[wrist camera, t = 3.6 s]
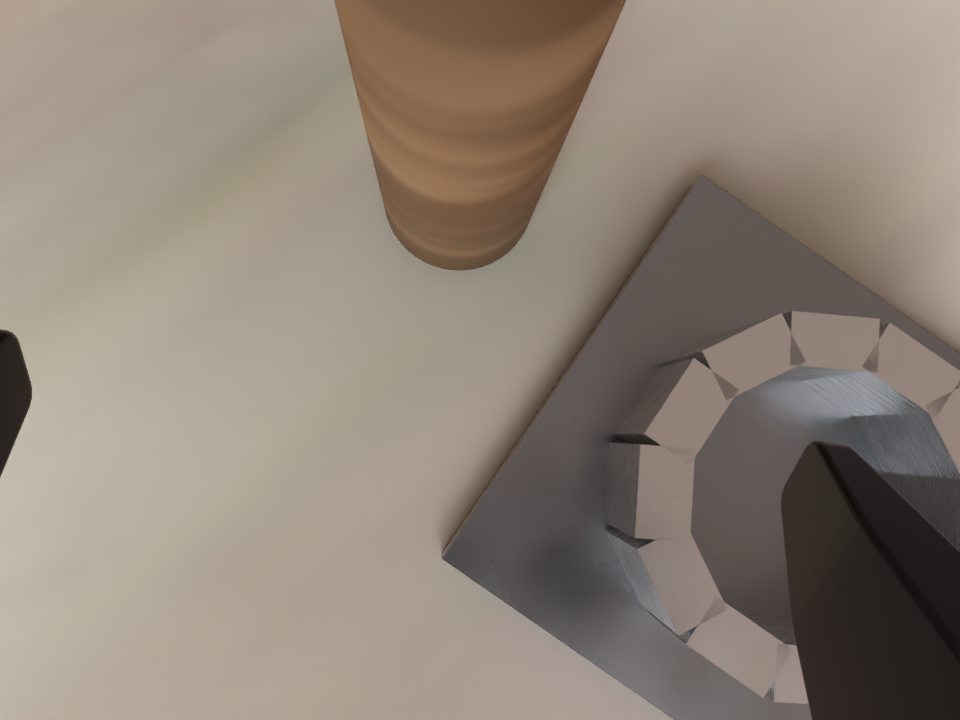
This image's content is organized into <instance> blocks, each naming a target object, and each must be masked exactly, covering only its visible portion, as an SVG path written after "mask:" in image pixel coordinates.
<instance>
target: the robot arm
mask: <svg viewBox="0 0 960 720" xmlns="http://www.w3.org/2000/svg"><path fill="white" fill-rule="evenodd" d="M31 399H32V386H31V381H30V378H29V375H28V371H27V368H26V364H25V361H24V357H23V354H22V351H21V347H20V344H19V341H18V339H17V337H16V336H15V335H14V334H13V333H12V332H9V331H7V330H1V329H0V477H1V474H2V472H3V470H4V467H5V465H6V462H7V460H8V458H9V455H10V453H11V450H12V448H13V446H14V443H15V441H16V438H17V436H18V434H19V431H20V429H21V426H22V424H23V422H24V419H25V417H26V414H27V412H28V409H29V407H30V403H31ZM781 513H782V524H783V535H784V545H785V556H786V567H787V578H788V589H789V600H790V609H791V617H792V625H793V631H794V636H795V641H796V647H797V651H798V656H799V661H800V665H801V670H802V675H803V680H804V684H805V689H806V694H807V699H808V703H809V708H810V713H811V718H812V720H960V551H959V550H958V549H957V548H956V547H955V546H954V545H953V544H952V543H951V542H950V541H949V540H948V539H946V538H945V537H944V536H943V535H942V534H941V533H940V532H939V531H938V530H937V529H936V528H935V527H934V526H933V525H932V524H931V523H930V522H929V521H928V520H927V519H926V518H925V517H924V516H923V515H922V514H921V513H919V512H918V511H917V510H916V509H915V508H914V507H913V506H912V505H911V504H910V503H909V502H908V501H907V500H906V499H905V498H904V497H903V496H902V495H901V494H900V493H899V492H898V491H897V490H896V489H895V488H894V487H892V486H891V485H890V484H889V483H888V482H887V481H886V480H885V479H884V478H883V477H882V476H881V475H880V474H879V473H878V472H877V471H876V470H875V469H874V468H873V467H872V466H871V465H870V464H869V463H868V462H867V461H865V460H864V459H863V458H862V457H861V456H860V455H859V454H858V453H857V452H856V451H855V450H854V449H853V448H852V447H850V446H848V445H846V444H842V443H835V442H828V441H820V440H817V441H812V442H811V443H809V444H808V445H807V447H806V448H805V449H804V451H803V453H802V455H801V456H800V458H799V460H798V462H797V464H796V465H795V467H794V469H793V471H792V473H791V474H790V476H789V478H788V480H787V481H786V483H785V485H784V488H783V491H782V496H781Z"/></svg>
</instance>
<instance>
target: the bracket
mask: <svg viewBox="0 0 960 720" xmlns="http://www.w3.org/2000/svg"><path fill="white" fill-rule="evenodd" d="M817 440H820V441H828V442H835V443H842V444H846V445H848V446H850V447H852V448H853V449H854V450H855V451H856V452H857V453H858V454H859V455H860V456H861V457H862V458H863V459H864V460H865V461H867V462H868V463H869V464H870V465H871V466H872V467H873V468H874V469H875V470H876V471H877V472H878V473H879V474H880V475H881V476H882V477H883V478H884V479H885V480H886V481H887V482H888V483H889V484H890V485H891V486H892V487H894V488H895V489H896V490H897V491H898V492H899V493H900V494H901V495H902V496H903V497H904V498H905V499H906V500H907V501H908V502H909V503H910V504H911V505H912V506H913V507H914V508H915V509H916V510H917V511H918V512H919V513H921V514H922V515H923V516H924V517H925V518H926V519H927V520H928V521H929V522H930V523H931V524H932V525H933V526H934V527H935V528H936V529H937V530H938V531H939V532H940V533H941V534H942V535H943V536H944V537H945V538H946V539H948V540H949V541H950V542H951V543H952V544H953V545H954V546H955V547H956V548H957V549H958V550H959V551H960V353H959V352H957V351H956V350H955V349H953V348H952V347H950V346H949V345H947V344H946V343H944V342H943V341H942V340H940V339H939V338H937V337H936V336H934V335H933V334H931V333H930V332H929V331H927V330H926V329H924V328H923V327H921V326H920V325H918V324H917V323H916V322H914V321H913V320H911V319H910V318H908V317H907V316H905V315H904V314H903V313H901V312H900V311H898V310H897V309H895V308H894V307H892V306H891V305H890V304H888V303H887V302H885V301H884V300H882V299H881V298H879V297H878V296H876V295H875V294H874V293H872V292H871V291H869V290H868V289H866V288H865V287H863V286H862V285H861V284H859V283H858V282H856V281H855V280H853V279H852V278H850V277H849V276H848V275H846V274H845V273H843V272H842V271H840V270H839V269H837V268H836V267H835V266H833V265H832V264H830V263H829V262H827V261H826V260H824V259H823V258H822V257H820V256H819V255H817V254H816V253H814V252H813V251H811V250H810V249H808V248H807V247H806V246H804V245H803V244H801V243H800V242H798V241H797V240H795V239H794V238H793V237H791V236H790V235H788V234H787V233H785V232H784V231H782V230H781V229H780V228H778V227H777V226H775V225H774V224H772V223H771V222H769V221H768V220H767V219H765V218H764V217H762V216H761V215H759V214H758V213H756V212H755V211H754V210H752V209H751V208H749V207H748V206H746V205H745V204H743V203H742V202H740V201H739V200H738V199H736V198H735V197H733V196H732V195H730V194H729V193H727V192H726V191H725V190H723V189H722V188H720V187H719V186H717V185H716V184H714V183H713V182H712V181H710V180H709V179H707V178H706V177H704V176H703V175H702V176H700V177H699V178H698V179H697V180H696V181H695V182H694V183H693V184H692V186H691V187H690V189H689V190H688V192H687V193H686V194H685V196H684V197H683V199H682V200H681V202H680V203H679V205H678V206H677V208H676V209H675V211H674V212H673V214H672V215H671V217H670V218H669V220H668V221H667V222H666V224H665V225H664V227H663V228H662V230H661V231H660V233H659V234H658V236H657V237H656V239H655V240H654V242H653V243H652V245H651V246H650V248H649V249H648V250H647V252H646V253H645V255H644V256H643V258H642V259H641V261H640V262H639V264H638V265H637V267H636V268H635V270H634V271H633V273H632V274H631V276H630V277H629V278H628V280H627V281H626V283H625V284H624V286H623V287H622V289H621V290H620V292H619V293H618V295H617V296H616V298H615V299H614V301H613V302H612V304H611V305H610V306H609V308H608V309H607V311H606V312H605V314H604V315H603V317H602V318H601V320H600V321H599V323H598V324H597V326H596V327H595V329H594V330H593V332H592V333H591V334H590V336H589V337H588V339H587V340H586V342H585V343H584V345H583V346H582V348H581V349H580V351H579V352H578V354H577V355H576V357H575V358H574V360H573V361H572V362H571V364H570V365H569V367H568V368H567V370H566V371H565V373H564V374H563V376H562V377H561V379H560V380H559V382H558V383H557V385H556V386H555V387H554V389H553V390H552V392H551V393H550V395H549V396H548V398H547V399H546V401H545V402H544V404H543V405H542V407H541V408H540V410H539V411H538V413H537V414H536V415H535V417H534V418H533V420H532V421H531V423H530V424H529V426H528V427H527V429H526V430H525V432H524V433H523V435H522V436H521V438H520V439H519V441H518V442H517V443H516V445H515V446H514V448H513V449H512V451H511V452H510V454H509V455H508V457H507V458H506V460H505V461H504V463H503V464H502V466H501V467H500V469H499V470H498V471H497V473H496V474H495V476H494V477H493V479H492V480H491V482H490V483H489V485H488V486H487V488H486V489H485V491H484V492H483V494H482V495H481V497H480V498H479V499H478V501H477V502H476V504H475V505H474V507H473V508H472V510H471V511H470V513H469V514H468V516H467V517H466V519H465V520H464V522H463V523H462V525H461V526H460V527H459V529H458V530H457V532H456V533H455V535H454V536H453V538H452V539H451V541H450V542H449V544H448V545H447V547H446V548H445V550H444V551H443V553H442V559H443V560H445V561H446V562H448V563H449V564H451V565H452V566H454V567H455V568H456V569H458V570H459V571H461V572H462V573H464V574H465V575H467V576H468V577H469V578H471V579H472V580H474V581H475V582H477V583H478V584H479V585H481V586H482V587H484V588H485V589H487V590H488V591H490V592H491V593H492V594H494V595H495V596H497V597H498V598H500V599H501V600H503V601H504V602H505V603H507V604H508V605H510V606H511V607H513V608H514V609H516V610H517V611H518V612H520V613H521V614H523V615H524V616H526V617H527V618H529V619H530V620H531V621H533V622H534V623H536V624H537V625H539V626H540V627H541V628H543V629H544V630H546V631H547V632H549V633H550V634H552V635H553V636H554V637H556V638H557V639H559V640H560V641H562V642H563V643H565V644H566V645H567V646H569V647H570V648H572V649H573V650H575V651H576V652H578V653H579V654H580V655H582V656H583V657H585V658H586V659H588V660H589V661H591V662H592V663H593V664H595V665H596V666H598V667H599V668H601V669H602V670H604V671H605V672H606V673H608V674H609V675H611V676H612V677H614V678H615V679H616V680H618V681H619V682H621V683H622V684H624V685H625V686H627V687H628V688H629V689H631V690H632V691H634V692H635V693H637V694H638V695H640V696H641V697H642V698H644V699H645V700H647V701H648V702H650V703H651V704H653V705H654V706H655V707H657V708H658V709H660V710H661V711H663V712H664V713H666V714H667V715H668V716H670V717H671V718H673V719H674V720H812V718H811V713H810V708H809V703H808V699H807V694H806V689H805V684H804V680H803V675H802V670H801V665H800V661H799V656H798V651H797V647H796V641H795V636H794V631H793V625H792V617H791V609H790V600H789V589H788V578H787V567H786V556H785V545H784V535H783V524H782V513H781V496H782V491H783V488H784V485H785V483H786V481H787V480H788V478H789V476H790V474H791V473H792V471H793V469H794V467H795V465H796V464H797V462H798V460H799V458H800V456H801V455H802V453H803V451H804V449H805V448H806V447H807V445H808V444H809V443H811V442H812V441H817Z"/></svg>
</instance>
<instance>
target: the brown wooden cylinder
mask: <svg viewBox="0 0 960 720" xmlns="http://www.w3.org/2000/svg"><path fill="white" fill-rule="evenodd" d="M625 2H626V0H335V4H336V8H337V12H338V17H339V21H340V25H341V29H342V33H343V37H344V41H345V46H346V50H347V54H348V58H349V62H350V66H351V70H352V74H353V79H354V83H355V87H356V91H357V95H358V99H359V103H360V107H361V112H362V116H363V120H364V124H365V128H366V132H367V136H368V141H369V145H370V149H371V153H372V157H373V161H374V165H375V169H376V174H377V178H378V182H379V186H380V190H381V194H382V198H383V203H384V207H385V211H386V215H387V219H388V221H389V224H390V226H391V228H392V230H393V232H394V234H395V235H396V237H397V238H398V240H399V241H400V242H401V244H402V245H403V246H404V247H405V248H406V249H407V250H408V251H409V252H411V253H412V254H413V255H414V256H416V257H417V258H419V259H421V260H422V261H424V262H426V263H428V264H431V265H433V266H436V267H440V268H443V269H450V270H469V269H475V268H479V267H483V266H485V265H488V264H490V263H492V262H494V261H496V260H498V259H500V258H501V257H502V256H504V255H505V254H507V253H508V252H509V251H510V250H511V249H512V248H513V247H514V246H515V245H516V243H517V242H518V241H519V240H520V238H521V237H522V235H523V233H524V232H525V230H526V228H527V225H528V223H529V221H530V218H531V216H532V214H533V212H534V209H535V207H536V205H537V202H538V200H539V198H540V196H541V193H542V191H543V189H544V186H545V184H546V182H547V180H548V177H549V175H550V173H551V170H552V168H553V166H554V164H555V161H556V159H557V157H558V154H559V152H560V150H561V148H562V145H563V143H564V141H565V138H566V136H567V134H568V132H569V129H570V127H571V125H572V123H573V120H574V118H575V116H576V113H577V111H578V109H579V107H580V104H581V102H582V100H583V97H584V95H585V93H586V91H587V88H588V86H589V84H590V81H591V79H592V77H593V75H594V72H595V70H596V68H597V65H598V63H599V61H600V59H601V56H602V54H603V52H604V49H605V47H606V45H607V43H608V40H609V38H610V36H611V33H612V31H613V29H614V27H615V24H616V22H617V20H618V18H619V15H620V13H621V11H622V8H623V6H624V4H625Z"/></svg>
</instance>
